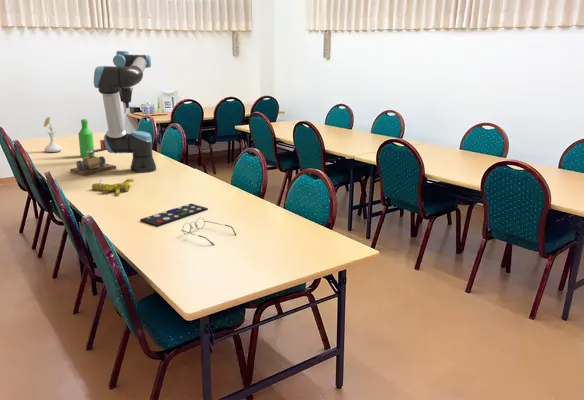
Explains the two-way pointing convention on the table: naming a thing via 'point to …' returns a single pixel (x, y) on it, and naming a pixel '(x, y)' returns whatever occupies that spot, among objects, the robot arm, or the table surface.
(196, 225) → the eyeglasses
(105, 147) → the lever
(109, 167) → the valve board
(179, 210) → the remote control
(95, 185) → the yellow toy lizard
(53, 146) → the flower in vase
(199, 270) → the table surface
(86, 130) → the bottle
